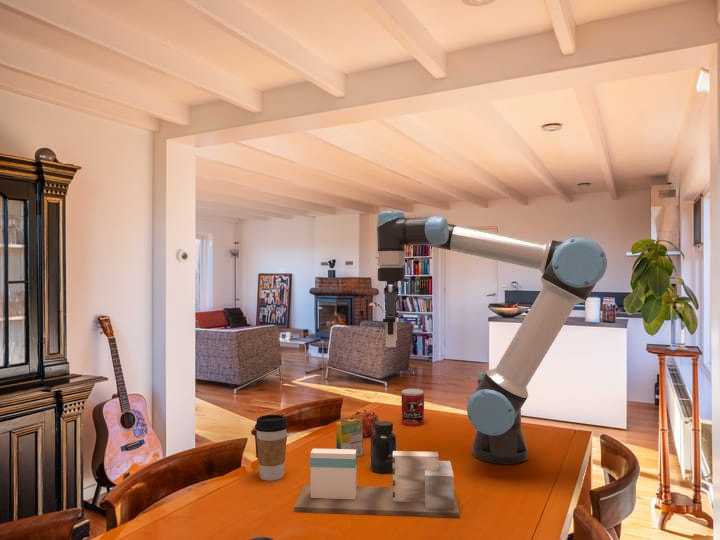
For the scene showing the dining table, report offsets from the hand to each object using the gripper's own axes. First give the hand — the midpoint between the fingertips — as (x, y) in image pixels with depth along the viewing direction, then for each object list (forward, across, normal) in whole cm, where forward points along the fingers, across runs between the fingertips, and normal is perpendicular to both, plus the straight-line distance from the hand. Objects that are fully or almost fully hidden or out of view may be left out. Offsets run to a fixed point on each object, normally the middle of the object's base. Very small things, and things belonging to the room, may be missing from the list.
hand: (391, 343), depth 143 cm
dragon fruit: (+32, -20, -10) cm, 39 cm away
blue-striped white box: (+31, +28, -12) cm, 43 cm away
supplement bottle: (+32, +8, -2) cm, 33 cm away
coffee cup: (+32, +15, -30) cm, 46 cm away
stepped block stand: (+32, +28, -2) cm, 42 cm away
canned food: (+32, -35, +6) cm, 48 cm away
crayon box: (+32, -1, -12) cm, 34 cm away
